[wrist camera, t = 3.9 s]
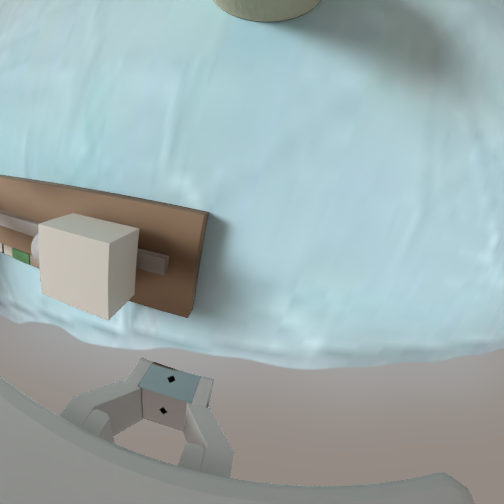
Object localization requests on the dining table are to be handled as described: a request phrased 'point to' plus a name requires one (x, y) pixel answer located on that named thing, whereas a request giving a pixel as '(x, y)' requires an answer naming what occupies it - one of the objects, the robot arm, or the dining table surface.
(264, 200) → the dining table surface
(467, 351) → the dining table surface
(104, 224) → the block
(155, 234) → the gauge base
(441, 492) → the robot arm
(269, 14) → the can
